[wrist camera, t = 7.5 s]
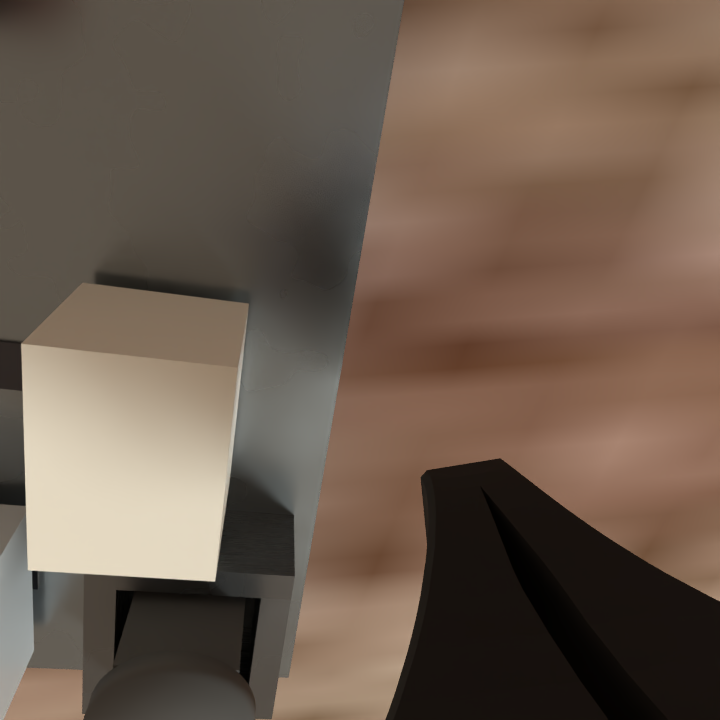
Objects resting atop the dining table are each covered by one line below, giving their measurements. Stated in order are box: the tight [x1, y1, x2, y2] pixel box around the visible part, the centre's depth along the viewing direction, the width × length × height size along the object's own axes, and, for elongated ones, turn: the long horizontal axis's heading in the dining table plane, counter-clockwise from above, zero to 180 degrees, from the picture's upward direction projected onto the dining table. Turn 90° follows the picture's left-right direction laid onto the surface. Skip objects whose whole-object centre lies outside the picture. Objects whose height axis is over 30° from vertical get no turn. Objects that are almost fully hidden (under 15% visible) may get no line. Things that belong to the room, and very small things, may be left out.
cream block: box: [21, 283, 249, 582], centre depth 12 cm, size 3×4×3 cm
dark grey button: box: [83, 591, 256, 720], centre depth 13 cm, size 3×3×3 cm
